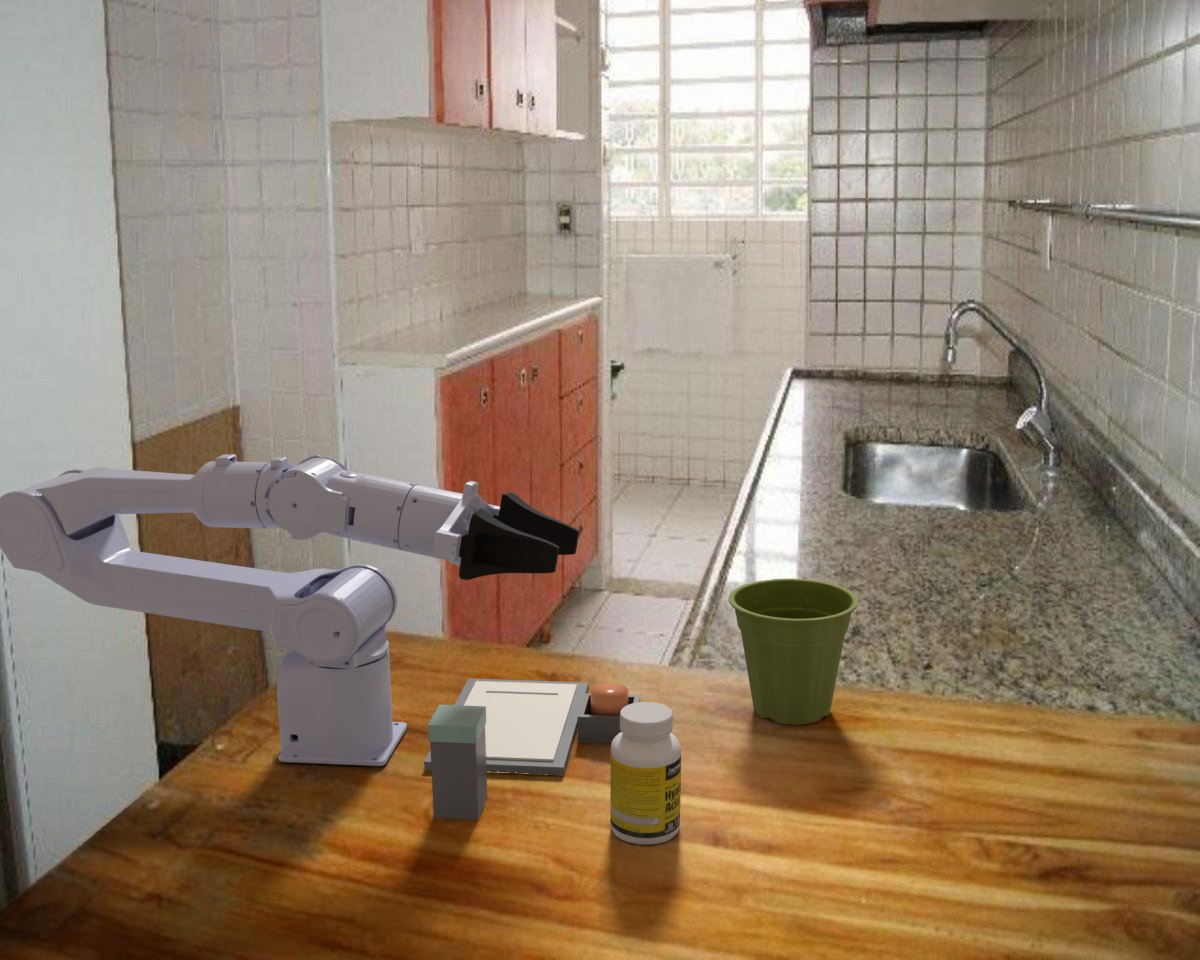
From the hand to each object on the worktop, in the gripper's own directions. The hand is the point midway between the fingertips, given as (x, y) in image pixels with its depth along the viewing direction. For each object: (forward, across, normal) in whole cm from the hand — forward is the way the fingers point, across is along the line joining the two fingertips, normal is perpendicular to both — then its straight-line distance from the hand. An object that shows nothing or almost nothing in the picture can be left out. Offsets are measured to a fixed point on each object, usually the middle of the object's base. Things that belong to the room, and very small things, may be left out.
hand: (567, 550), depth 101 cm
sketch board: (-4, +8, +19) cm, 21 cm away
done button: (+5, +9, +16) cm, 19 cm away
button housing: (+5, +9, +18) cm, 21 cm away
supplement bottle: (+11, -7, +19) cm, 23 cm away
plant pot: (+21, +17, +15) cm, 30 cm away
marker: (-4, -6, +21) cm, 22 cm away
